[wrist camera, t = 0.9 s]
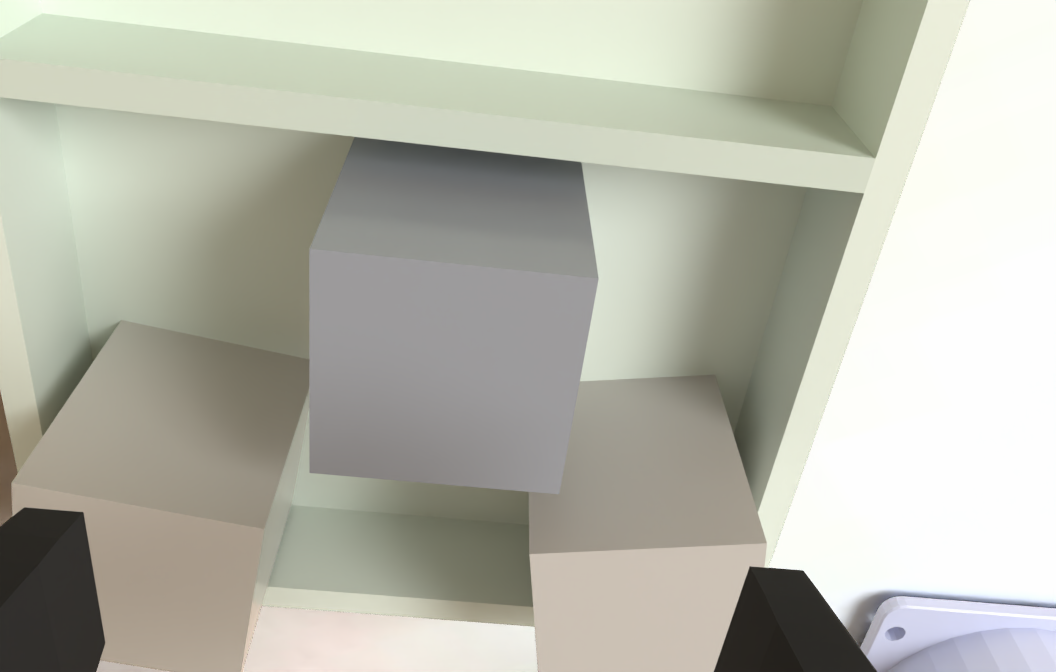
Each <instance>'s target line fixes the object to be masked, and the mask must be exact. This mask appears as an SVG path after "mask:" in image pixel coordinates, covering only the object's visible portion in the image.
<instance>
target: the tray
mask: <svg viewBox="0 0 1056 672" xmlns="http://www.w3.org/2000/svg"><path fill="white" fill-rule="evenodd" d="M969 2H970V0H0V391H1V396H2V401H3V406H4V410H5V415H6V420H7V425H8V429H9V434H10V439H11V443H12V448H13V453H14V458H15V462H16V467H17V472H19V471H20V469H21V468H22V466H23V465H24V464H25V462H26V461H27V459H28V458H29V456H30V455H31V453H32V452H33V450H34V449H35V447H36V446H37V444H38V443H39V441H40V440H41V438H42V437H43V435H44V434H45V432H46V431H47V429H48V428H49V426H50V425H51V424H52V422H53V421H54V419H55V418H56V416H57V415H58V413H59V412H60V410H61V409H62V407H63V406H64V404H65V403H66V401H67V400H68V398H69V397H70V395H71V394H72V392H73V391H74V389H75V388H76V386H77V385H78V384H79V382H80V381H81V379H82V378H83V376H84V375H85V373H86V372H87V370H88V369H89V367H90V366H91V364H92V363H93V361H94V360H95V358H96V357H97V355H98V354H99V352H100V351H101V349H102V348H103V347H104V345H105V344H106V342H107V341H108V339H109V338H110V336H111V335H112V333H113V332H114V330H115V329H116V327H117V326H118V324H119V323H120V321H121V320H124V321H128V322H133V323H138V324H143V325H147V326H152V327H157V328H162V329H167V330H171V331H176V332H181V333H186V334H190V335H195V336H200V337H205V338H210V339H214V340H219V341H224V342H229V343H233V344H238V345H243V346H248V347H252V348H257V349H262V350H267V351H272V352H276V353H281V354H286V355H291V356H295V357H300V358H305V359H309V249H310V246H311V244H312V241H313V239H314V236H315V234H316V231H317V229H318V226H319V224H320V221H321V219H322V216H323V214H324V211H325V209H326V206H327V204H328V202H329V199H330V197H331V194H332V192H333V189H334V187H335V184H336V182H337V179H338V177H339V174H340V172H341V169H342V167H343V164H344V162H345V159H346V157H347V154H348V152H349V149H350V147H351V145H352V142H353V140H354V137H361V138H370V139H379V140H388V141H397V142H406V143H415V144H424V145H433V146H442V147H451V148H460V149H469V150H478V151H487V152H496V153H505V154H514V155H523V156H532V157H541V158H550V159H559V160H568V161H577V162H581V163H582V170H583V177H584V183H585V190H586V197H587V203H588V210H589V217H590V224H591V230H592V237H593V244H594V250H595V257H596V264H597V271H598V277H599V280H598V285H597V290H596V296H595V301H594V307H593V312H592V318H591V323H590V329H589V334H588V340H587V345H586V351H585V356H584V362H583V367H582V373H581V378H580V381H597V380H618V379H638V378H658V377H678V376H698V375H715V376H716V379H717V383H718V386H719V389H720V392H721V396H722V399H723V402H724V405H725V409H726V412H727V415H728V418H729V422H730V425H731V428H732V431H733V435H734V438H735V441H736V444H737V448H738V451H739V454H740V457H741V461H742V464H743V467H744V470H745V474H746V477H747V480H748V483H749V486H750V490H751V493H752V496H753V499H754V503H755V506H756V509H757V512H758V516H759V519H760V522H761V525H762V529H763V532H764V535H765V538H766V542H767V548H766V557H765V566H764V568H769V565H770V562H771V559H772V557H773V554H774V551H775V548H776V545H777V542H778V540H779V537H780V534H781V531H782V528H783V526H784V523H785V520H786V517H787V514H788V512H789V509H790V506H791V503H792V500H793V497H794V495H795V492H796V489H797V486H798V483H799V481H800V478H801V475H802V472H803V469H804V466H805V464H806V461H807V458H808V455H809V452H810V450H811V447H812V444H813V441H814V438H815V436H816V433H817V430H818V427H819V424H820V421H821V419H822V416H823V413H824V410H825V407H826V405H827V402H828V399H829V396H830V393H831V390H832V388H833V385H834V382H835V379H836V376H837V374H838V371H839V368H840V365H841V362H842V360H843V357H844V354H845V351H846V348H847V345H848V343H849V340H850V337H851V334H852V331H853V329H854V326H855V323H856V320H857V317H858V314H859V312H860V309H861V306H862V303H863V300H864V298H865V295H866V292H867V289H868V286H869V283H870V281H871V278H872V275H873V272H874V269H875V267H876V264H877V261H878V258H879V255H880V253H881V250H882V247H883V244H884V241H885V238H886V236H887V233H888V230H889V227H890V224H891V222H892V219H893V216H894V213H895V210H896V207H897V205H898V202H899V199H900V196H901V193H902V191H903V188H904V185H905V182H906V179H907V177H908V174H909V171H910V168H911V165H912V162H913V160H914V157H915V154H916V151H917V148H918V146H919V143H920V140H921V137H922V134H923V131H924V129H925V126H926V123H927V120H928V117H929V115H930V112H931V109H932V106H933V103H934V101H935V98H936V95H937V92H938V89H939V86H940V84H941V81H942V78H943V75H944V72H945V70H946V67H947V64H948V61H949V58H950V55H951V53H952V50H953V47H954V44H955V41H956V39H957V36H958V33H959V30H960V27H961V25H962V22H963V19H964V16H965V13H966V10H967V8H968V5H969ZM262 606H269V607H283V608H296V609H309V610H322V611H336V612H349V613H362V614H375V615H388V616H402V617H415V618H428V619H441V620H455V621H468V622H481V623H494V624H507V625H521V626H534V627H535V623H534V610H533V596H532V582H531V569H530V555H529V492H525V491H514V490H502V489H490V488H479V487H467V486H456V485H444V484H432V483H421V482H409V481H397V480H386V479H374V478H362V477H351V476H339V475H327V474H316V473H309V412H308V418H307V423H306V429H305V435H304V440H303V446H302V451H301V457H300V462H299V468H298V474H297V479H296V485H295V490H294V496H293V501H292V505H291V508H290V511H289V515H288V518H287V522H286V525H285V528H284V532H283V535H282V539H281V542H280V546H279V549H278V552H277V556H276V559H275V563H274V566H273V569H272V573H271V576H270V580H269V583H268V586H267V590H266V593H265V597H264V600H263V604H262Z"/></svg>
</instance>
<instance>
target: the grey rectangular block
mask: <svg viewBox="0 0 1056 672" xmlns="http://www.w3.org/2000/svg"><path fill="white" fill-rule="evenodd" d="M598 280H599V277H598V271H597V264H596V257H595V250H594V244H593V237H592V230H591V224H590V217H589V210H588V203H587V197H586V190H585V183H584V177H583V170H582V163H581V162H577V161H568V160H559V159H550V158H541V157H532V156H523V155H514V154H505V153H496V152H487V151H478V150H469V149H460V148H451V147H442V146H433V145H424V144H415V143H406V142H397V141H388V140H379V139H370V138H361V137H354V140H353V142H352V145H351V147H350V149H349V152H348V154H347V157H346V159H345V162H344V164H343V167H342V169H341V172H340V174H339V177H338V179H337V182H336V184H335V187H334V189H333V192H332V194H331V197H330V199H329V202H328V204H327V206H326V209H325V211H324V214H323V216H322V219H321V221H320V224H319V226H318V229H317V231H316V234H315V236H314V239H313V241H312V244H311V246H310V249H309V473H316V474H327V475H339V476H351V477H362V478H374V479H386V480H397V481H409V482H421V483H432V484H444V485H456V486H467V487H479V488H490V489H502V490H514V491H525V492H537V493H549V494H559V493H560V487H561V482H562V476H563V471H564V466H565V460H566V455H567V449H568V444H569V438H570V433H571V427H572V422H573V416H574V411H575V405H576V400H577V394H578V389H579V383H580V378H581V373H582V367H583V362H584V356H585V351H586V345H587V340H588V334H589V329H590V323H591V318H592V312H593V307H594V301H595V296H596V290H597V285H598Z"/></svg>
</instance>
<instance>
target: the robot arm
mask: <svg viewBox="0 0 1056 672" xmlns="http://www.w3.org/2000/svg"><path fill="white" fill-rule="evenodd" d="M892 627H893V628H892ZM104 646H105V637H104V631H103V625H102V619H101V613H100V607H99V601H98V595H97V590H96V584H95V578H94V572H93V566H92V560H91V554H90V548H89V542H88V536H87V530H86V524H85V518H84V512H76V511H64V510H51V509H39V508H27V507H24V508H23V509H21V510H20V511H19V512H18V513H16V514H15V515H14V516H13V517H11V518H10V519H9V520H8V521H7V522H5V523H4V524H3V525H2V526H1V527H0V672H96V671H97V667H98V664H99V661H100V658H101V655H102V652H103V649H104ZM714 672H1056V608H1044V607H1031V606H1019V605H1006V604H994V603H981V602H969V601H956V600H944V599H932V598H919V597H907V596H896V597H892V598H889V599H887V600H886V601H884V602H883V603H882V604H881V605H880V606H879V608H878V610H877V612H876V614H875V616H874V618H873V621H872V623H871V625H870V627H869V629H868V632H867V634H866V636H865V638H864V640H863V643H862V645H861V647H859V646H858V645H857V643H856V642H855V641H854V639H853V638H852V636H851V635H850V634H849V632H848V631H847V630H846V628H845V627H844V625H843V624H842V623H841V621H840V620H839V619H838V617H837V616H836V614H835V613H834V612H833V610H832V609H831V608H830V606H829V605H828V603H827V602H826V601H825V599H824V598H823V597H822V595H821V594H820V592H819V591H818V590H817V588H816V587H815V586H814V584H813V583H812V582H811V580H810V579H809V578H808V576H807V575H806V574H805V572H804V571H801V570H789V569H776V568H764V567H752V566H750V567H749V570H748V573H747V576H746V579H745V581H744V584H743V587H742V590H741V593H740V596H739V599H738V602H737V605H736V608H735V611H734V614H733V617H732V620H731V623H730V626H729V628H728V631H727V634H726V637H725V640H724V643H723V646H722V649H721V652H720V655H719V658H718V661H717V664H716V667H715V670H714Z"/></svg>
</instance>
